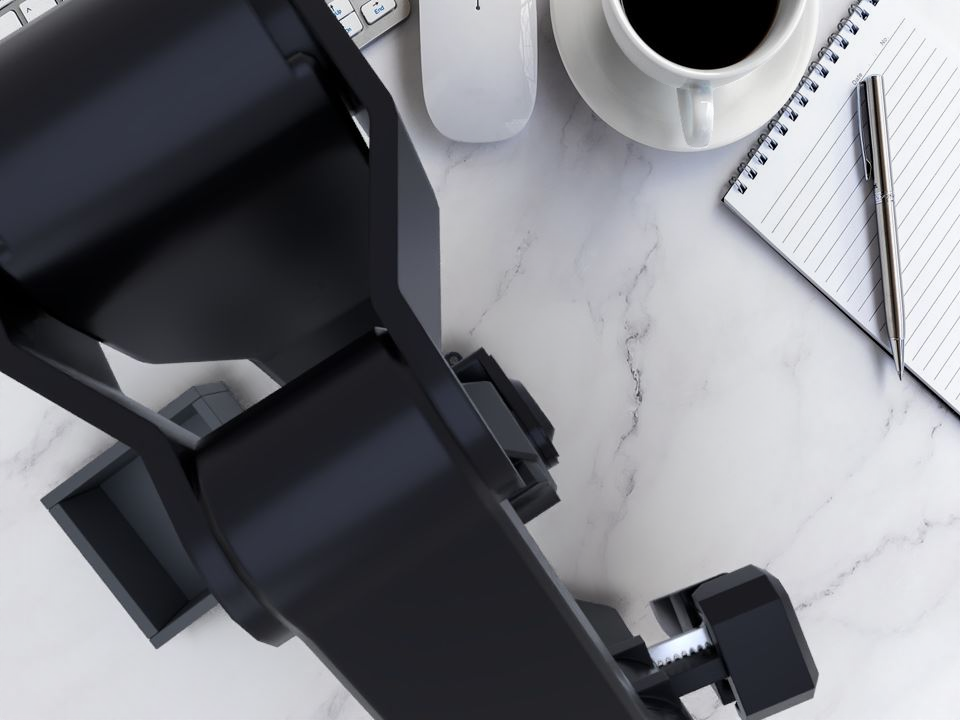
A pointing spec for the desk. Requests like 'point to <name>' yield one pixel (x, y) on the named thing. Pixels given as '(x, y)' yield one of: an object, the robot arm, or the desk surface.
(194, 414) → the waste bin
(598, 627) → the ink cartridge
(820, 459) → the desk surface
